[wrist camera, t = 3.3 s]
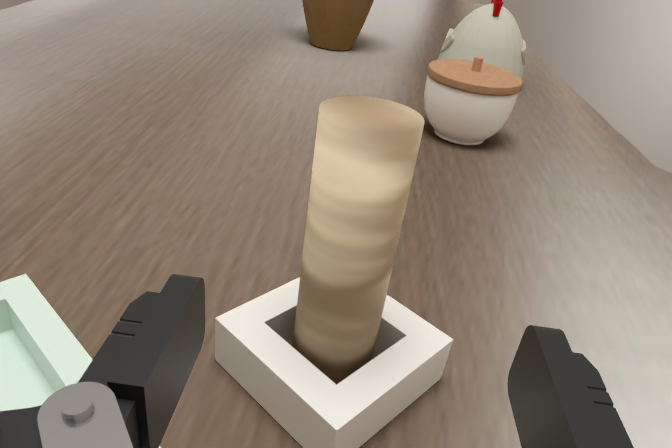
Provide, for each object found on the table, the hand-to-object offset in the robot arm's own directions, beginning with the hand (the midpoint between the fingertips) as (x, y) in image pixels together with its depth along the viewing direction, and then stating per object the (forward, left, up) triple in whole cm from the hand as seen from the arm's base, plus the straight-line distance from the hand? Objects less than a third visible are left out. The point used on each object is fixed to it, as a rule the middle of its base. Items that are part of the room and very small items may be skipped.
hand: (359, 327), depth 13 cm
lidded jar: (+48, +24, -14) cm, 55 cm away
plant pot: (+64, +62, -14) cm, 90 cm away
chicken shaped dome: (+73, +37, -14) cm, 83 cm away
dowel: (+9, +7, -13) cm, 18 cm away
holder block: (+9, +7, -13) cm, 18 cm away
